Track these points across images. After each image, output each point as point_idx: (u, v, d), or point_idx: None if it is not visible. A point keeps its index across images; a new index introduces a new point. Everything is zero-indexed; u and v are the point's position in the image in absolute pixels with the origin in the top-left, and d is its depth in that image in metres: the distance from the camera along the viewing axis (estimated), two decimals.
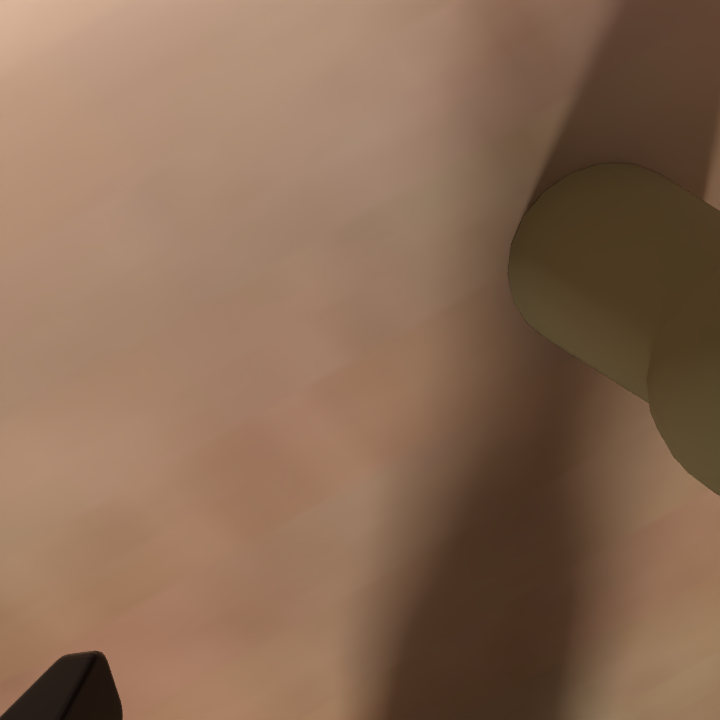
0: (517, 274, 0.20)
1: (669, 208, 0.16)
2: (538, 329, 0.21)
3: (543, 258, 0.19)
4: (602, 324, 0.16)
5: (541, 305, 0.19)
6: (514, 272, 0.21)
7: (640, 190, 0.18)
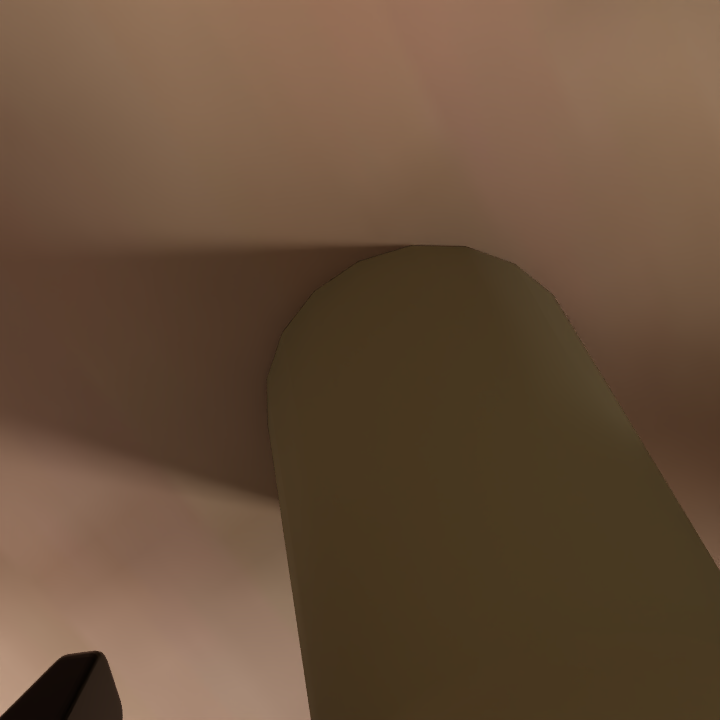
0: None
1: None
2: None
3: None
4: None
5: None
6: None
7: None
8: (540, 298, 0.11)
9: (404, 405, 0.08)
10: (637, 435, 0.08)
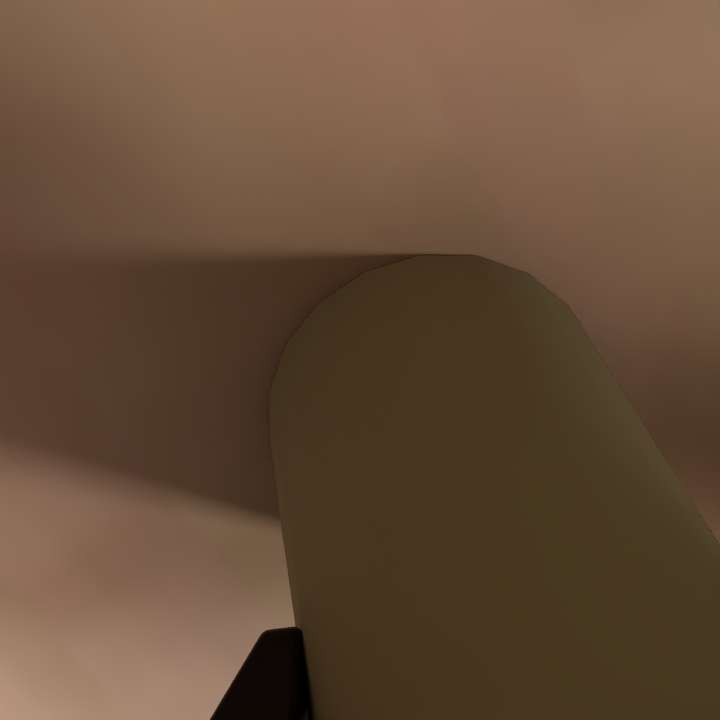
0: None
1: (296, 624, 0.08)
2: None
3: None
4: None
5: None
6: None
7: (285, 544, 0.09)
8: (557, 311, 0.10)
9: (417, 432, 0.07)
10: (667, 463, 0.07)
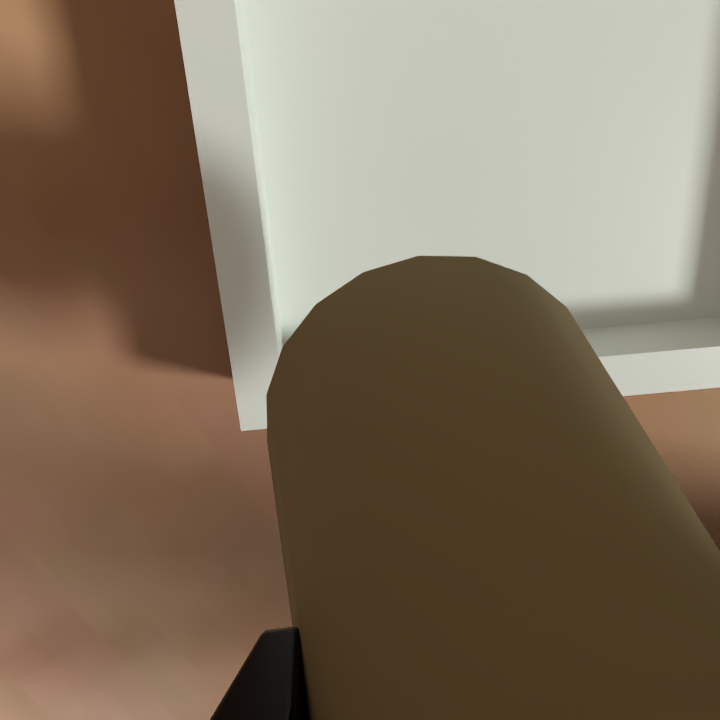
0: None
1: None
2: None
3: None
4: None
5: None
6: None
7: None
8: (555, 312, 0.10)
9: (414, 434, 0.07)
10: (664, 464, 0.07)
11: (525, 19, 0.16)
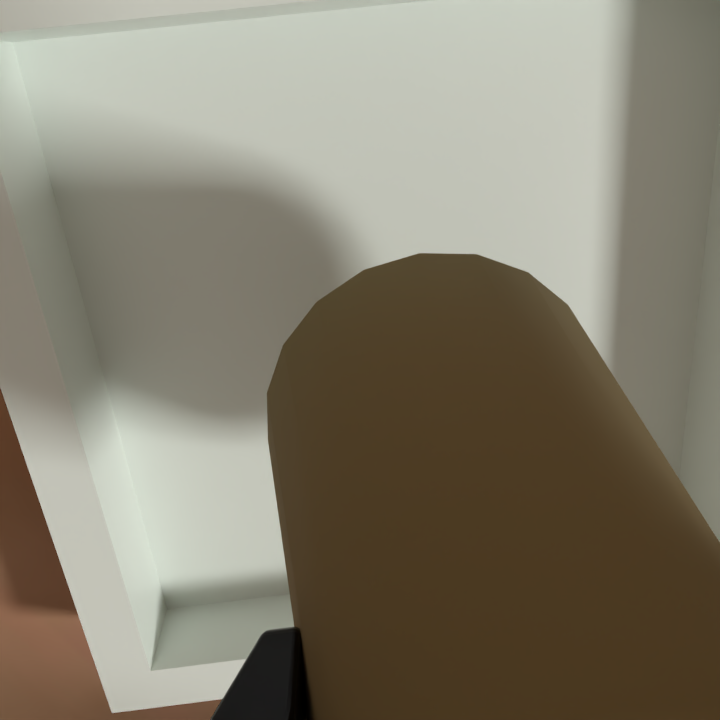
0: None
1: None
2: None
3: None
4: None
5: None
6: None
7: None
8: (556, 309, 0.10)
9: (416, 430, 0.07)
10: (667, 461, 0.07)
11: None
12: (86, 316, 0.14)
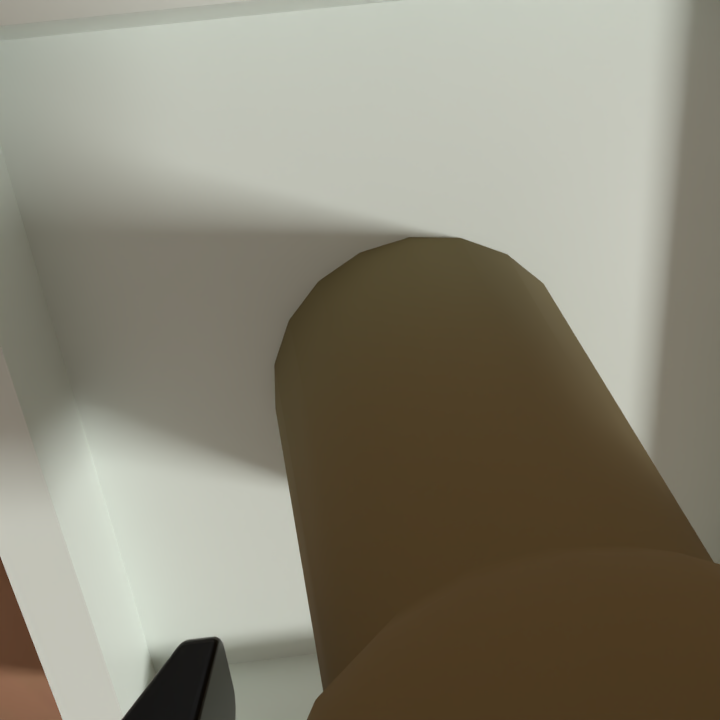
0: None
1: None
2: None
3: None
4: None
5: None
6: None
7: None
8: (530, 284, 0.11)
9: (400, 373, 0.08)
10: (615, 402, 0.09)
11: None
12: (61, 355, 0.13)
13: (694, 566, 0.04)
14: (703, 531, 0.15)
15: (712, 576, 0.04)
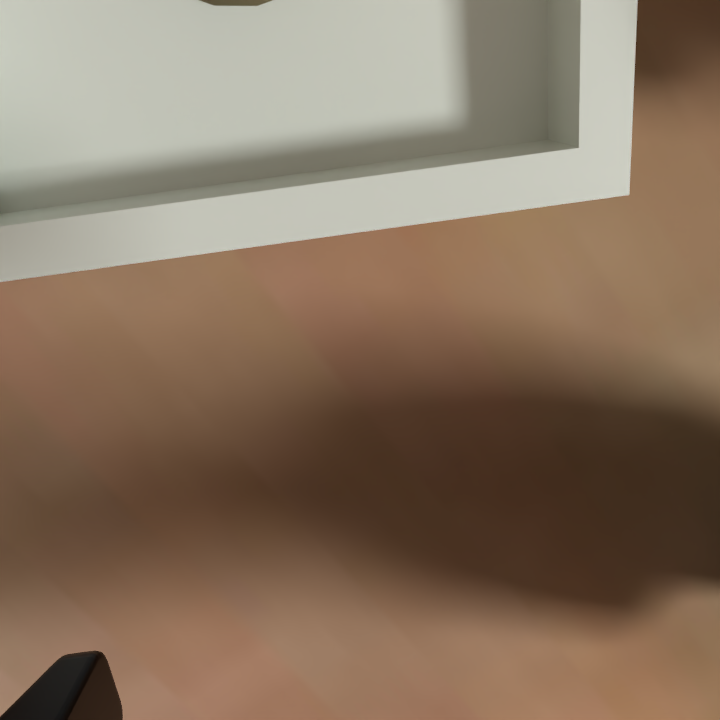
0: None
1: None
2: None
3: None
4: None
5: None
6: (245, 0, 0.14)
7: None
8: None
9: None
10: None
11: None
12: None
13: None
14: (524, 44, 0.16)
15: None
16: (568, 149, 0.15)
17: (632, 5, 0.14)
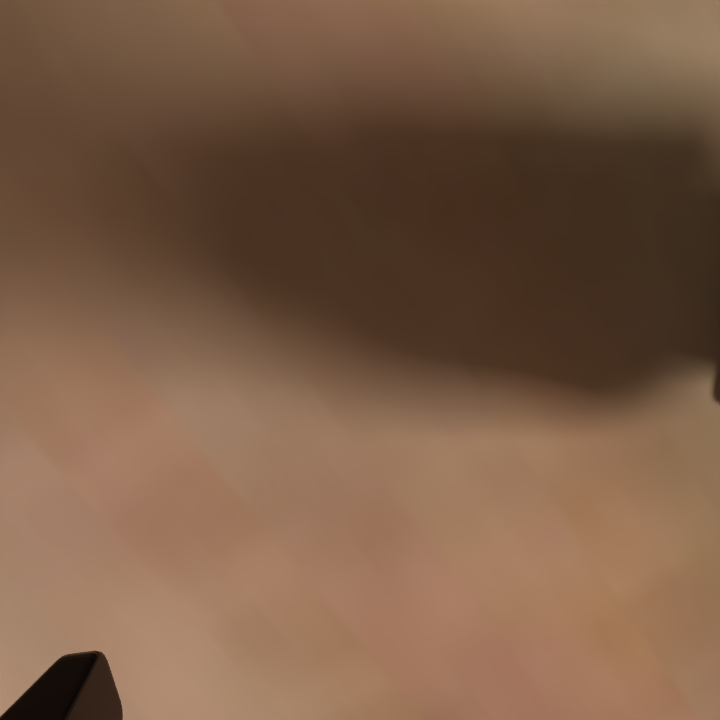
0: None
1: None
2: None
3: None
4: None
5: None
6: None
7: None
8: None
9: None
10: None
11: None
12: None
13: None
14: None
15: None
16: None
17: None
